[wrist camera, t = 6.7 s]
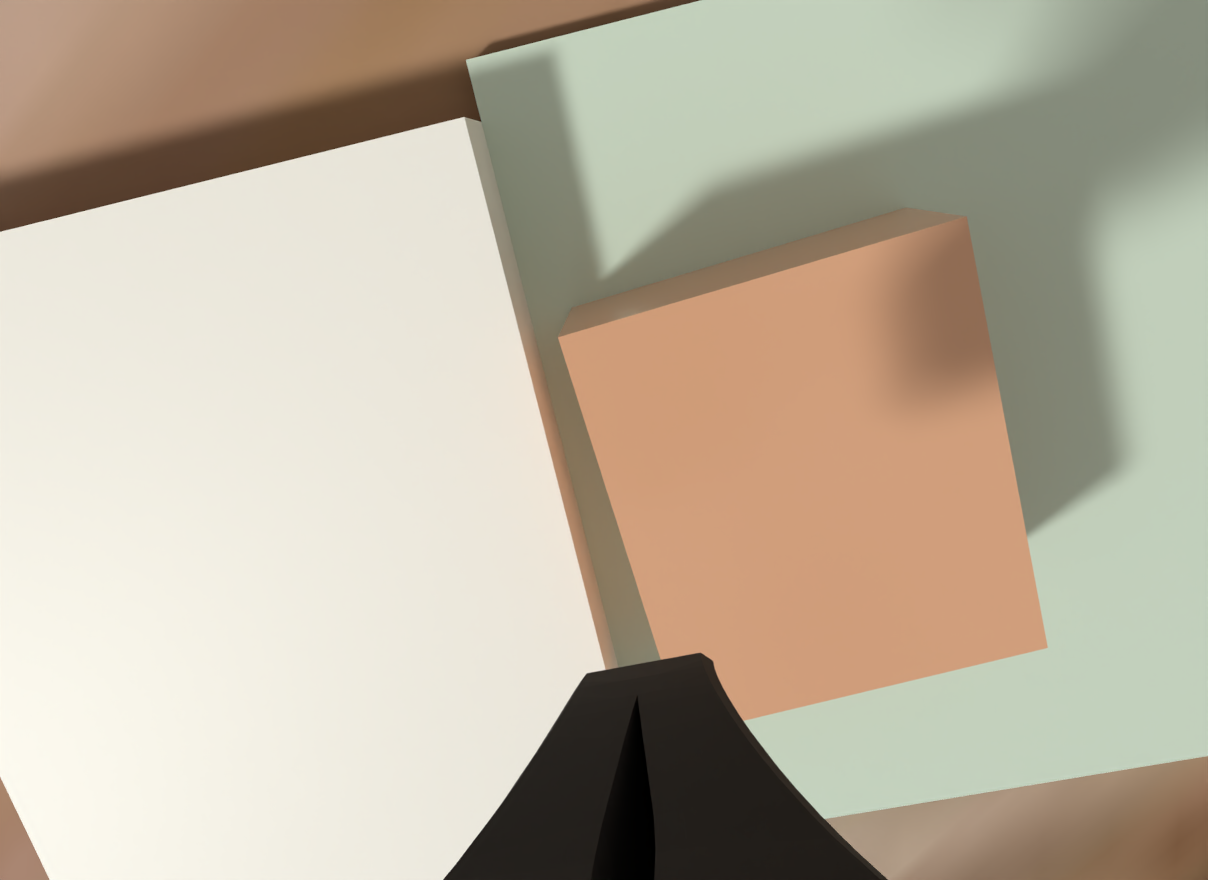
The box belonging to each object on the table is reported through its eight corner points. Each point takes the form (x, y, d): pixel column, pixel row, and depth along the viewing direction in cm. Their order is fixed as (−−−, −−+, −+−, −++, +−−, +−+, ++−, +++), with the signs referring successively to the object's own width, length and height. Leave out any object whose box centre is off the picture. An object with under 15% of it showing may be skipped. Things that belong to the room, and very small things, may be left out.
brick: (906, 207, 16) (966, 216, 13) (980, 568, 17) (1047, 647, 15) (571, 307, 16) (557, 337, 13) (677, 644, 18) (684, 734, 15)
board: (484, 122, 16) (464, 116, 14) (652, 793, 20) (655, 862, 18) (-136, 276, 17) (-233, 289, 15) (136, 881, 21) (86, 954, 19)
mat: (1266, -140, 14) (1283, -149, 14) (1286, 728, 19) (1300, 740, 18) (470, 62, 16) (465, 59, 15) (662, 832, 20) (662, 845, 20)
